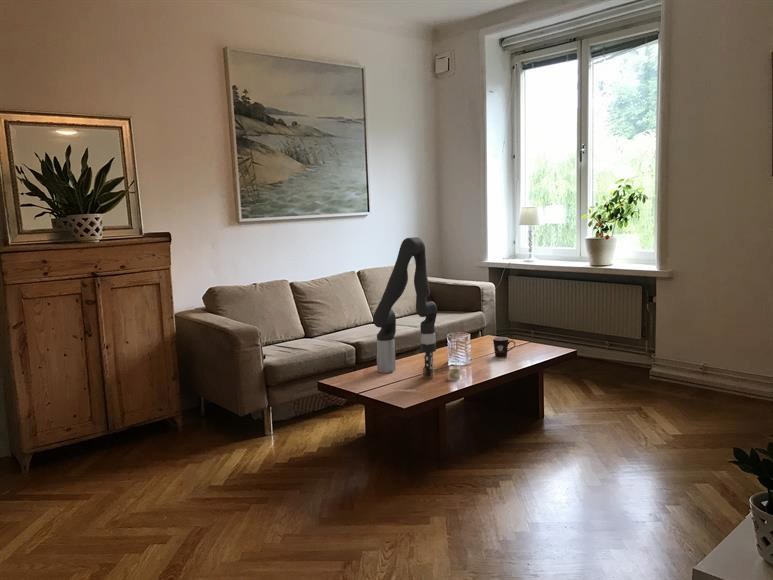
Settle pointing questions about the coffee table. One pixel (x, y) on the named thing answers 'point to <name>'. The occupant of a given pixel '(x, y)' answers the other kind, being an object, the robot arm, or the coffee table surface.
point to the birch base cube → (454, 372)
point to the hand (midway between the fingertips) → (429, 373)
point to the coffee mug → (501, 346)
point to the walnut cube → (431, 373)
